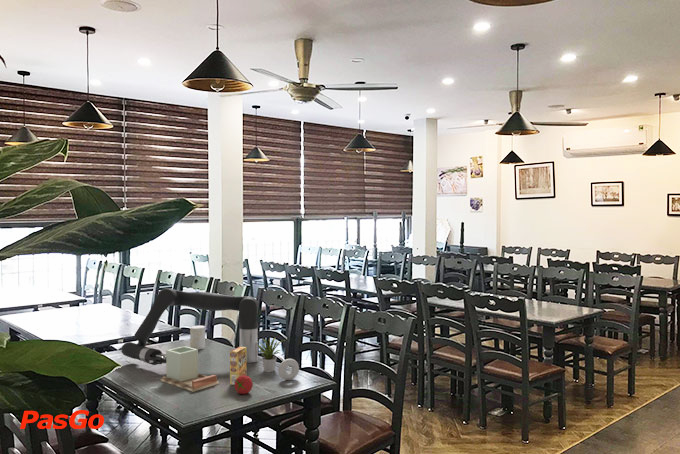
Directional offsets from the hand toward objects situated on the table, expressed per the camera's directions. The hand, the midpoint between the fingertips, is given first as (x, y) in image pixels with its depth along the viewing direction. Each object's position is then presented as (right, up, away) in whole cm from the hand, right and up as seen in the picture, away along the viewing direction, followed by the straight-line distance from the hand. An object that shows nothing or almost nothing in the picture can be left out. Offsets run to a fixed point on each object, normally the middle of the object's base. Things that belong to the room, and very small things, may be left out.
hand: (171, 361), depth 255 cm
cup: (-2, -6, +55) cm, 55 cm away
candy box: (+33, -8, -7) cm, 34 cm away
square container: (+6, -6, -5) cm, 10 cm away
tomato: (+38, -8, -23) cm, 45 cm away
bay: (+11, -7, -8) cm, 15 cm away
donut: (+55, -8, -4) cm, 56 cm away
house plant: (+45, -7, +12) cm, 48 cm away
